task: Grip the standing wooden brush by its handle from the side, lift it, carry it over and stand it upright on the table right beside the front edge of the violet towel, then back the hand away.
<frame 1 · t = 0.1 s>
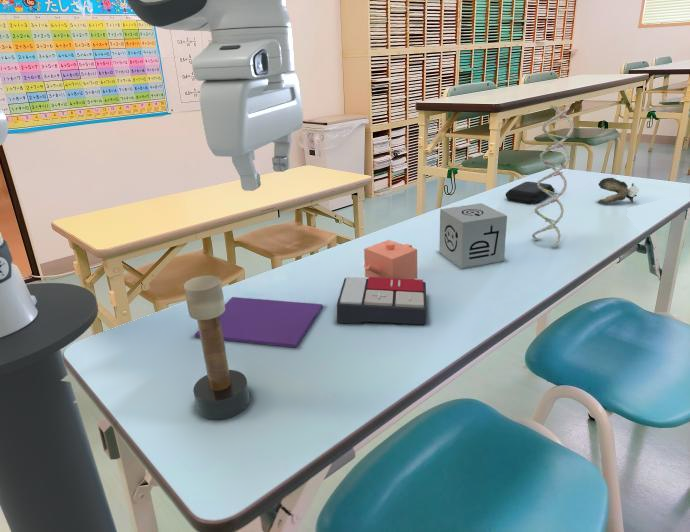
hand: (267, 179, 64), 29 cm above the table, tool pointing down, fingers open, 8 cm apart
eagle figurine: (616, 202, 143), on the table
brush: (223, 403, 70), on the table
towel: (261, 321, 91), on the table
dna model: (545, 244, 118), on the table
calculator: (383, 310, 93), on the table
carrying case: (531, 198, 151), on the table
icon cube: (470, 257, 113), on the table
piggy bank: (388, 283, 103), on the table
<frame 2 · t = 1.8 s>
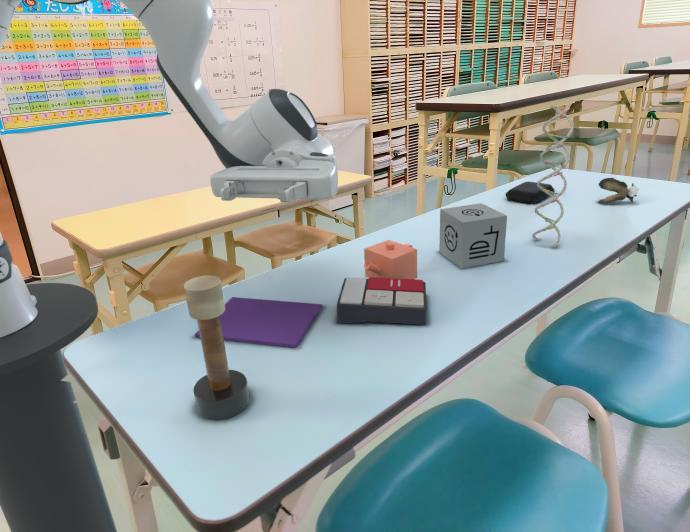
hand: (254, 196, 76), 24 cm above the table, tool horizontal, fingers open, 8 cm apart
nothing on the table moved.
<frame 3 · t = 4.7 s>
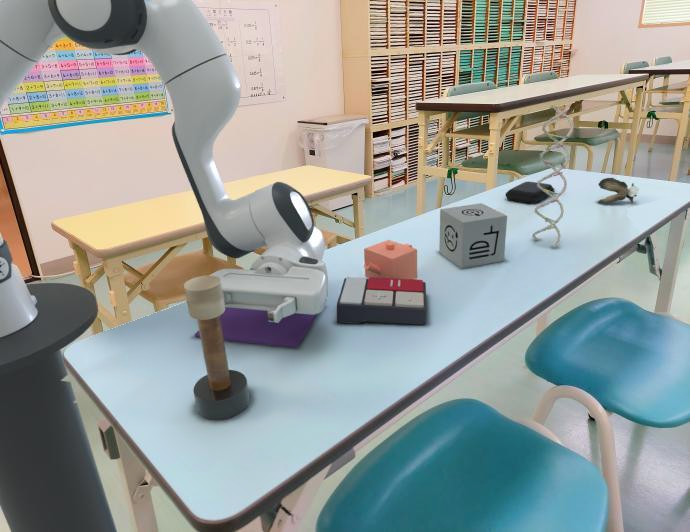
hand: (241, 315, 74), 9 cm above the table, tool horizontal, fingers open, 8 cm apart
nothing on the table moved.
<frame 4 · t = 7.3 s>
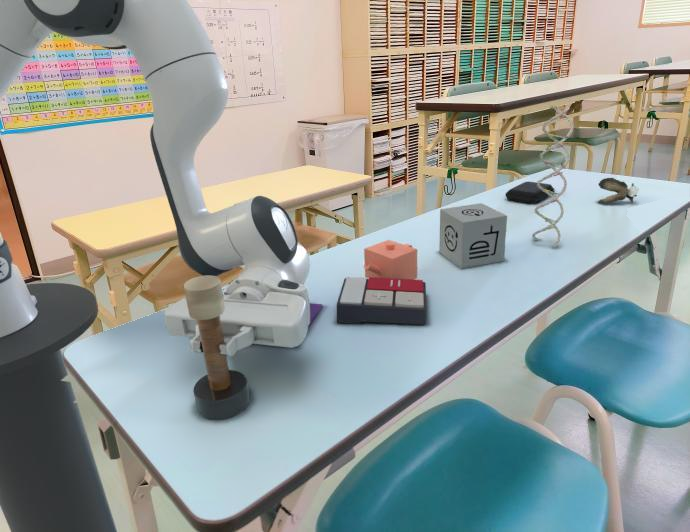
hand: (210, 349, 66), 9 cm above the table, tool horizontal, fingers closed on brush, 3 cm apart
brush: (223, 402, 70), on the table, touching gripper
everything else where it was.
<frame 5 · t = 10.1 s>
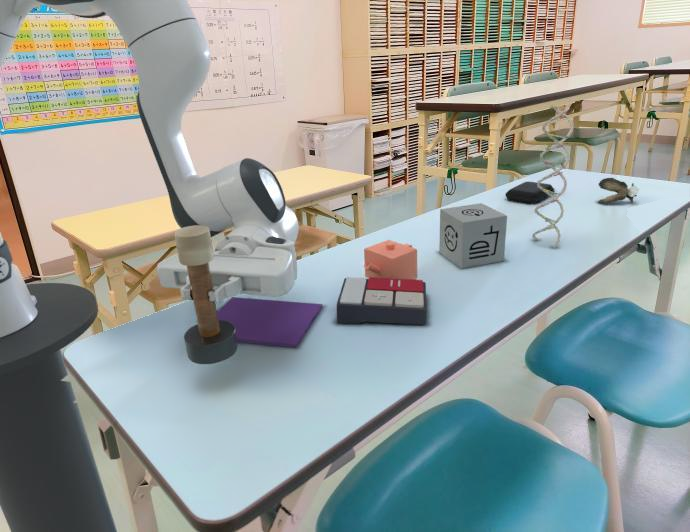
hand: (199, 296, 69), 14 cm above the table, tool horizontal, fingers closed on brush, 3 cm apart
brush: (212, 350, 74), point 5 cm above the table, touching gripper
everything else where it was.
when the fingers open (9 cm above the table, at t = 13.1 s): brush stays where it is, on the table.
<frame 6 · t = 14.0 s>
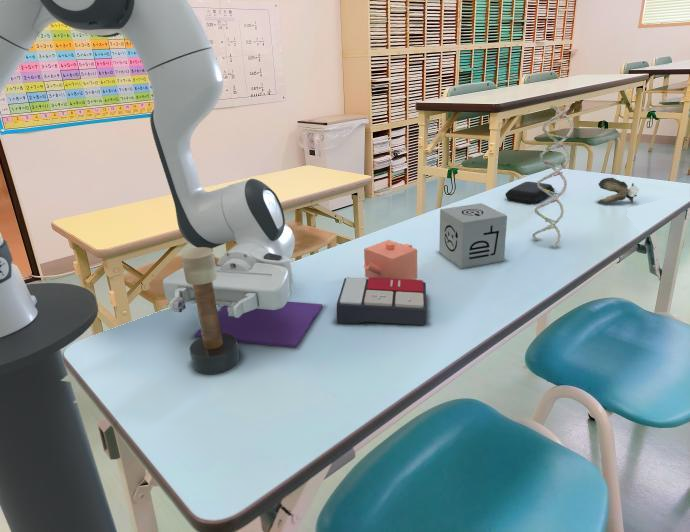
hand: (202, 310, 75), 9 cm above the table, tool horizontal, fingers open, 8 cm apart
brush: (216, 361, 80), on the table
everything else where it was.
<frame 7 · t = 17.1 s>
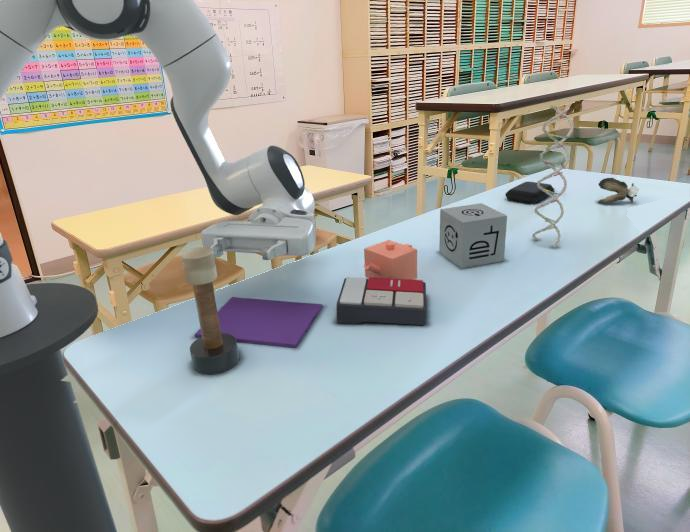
hand: (239, 254, 86), 13 cm above the table, tool horizontal, fingers open, 8 cm apart
nothing on the table moved.
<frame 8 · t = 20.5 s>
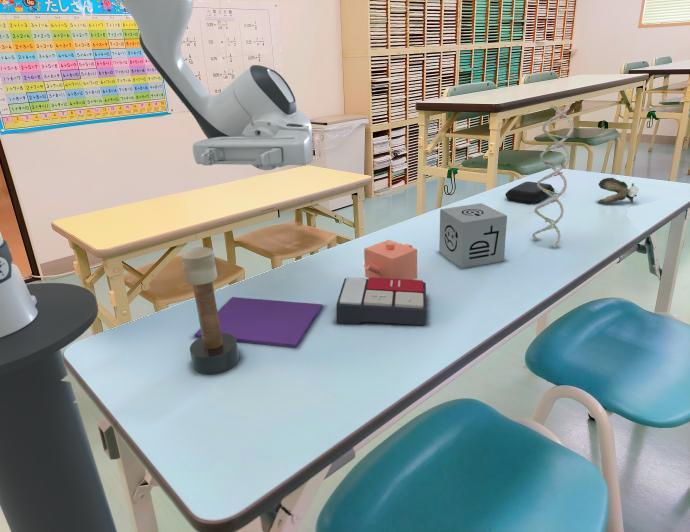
hand: (232, 160, 81), 28 cm above the table, tool horizontal, fingers open, 8 cm apart
nothing on the table moved.
at the end: brush inside the target area on the table beside the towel (1.9 cm from its centre), on the table; brush tilted 0°; the gripper is holding nothing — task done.
